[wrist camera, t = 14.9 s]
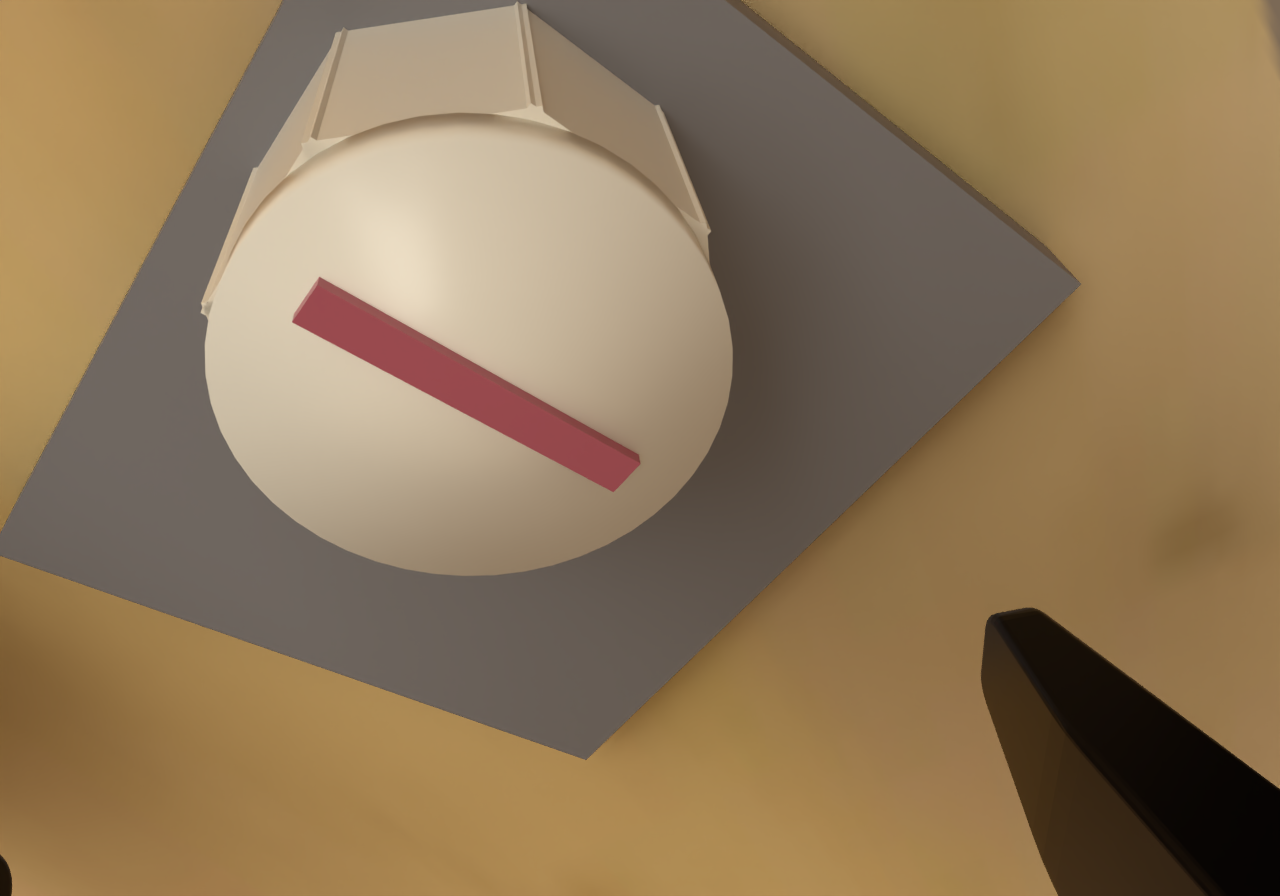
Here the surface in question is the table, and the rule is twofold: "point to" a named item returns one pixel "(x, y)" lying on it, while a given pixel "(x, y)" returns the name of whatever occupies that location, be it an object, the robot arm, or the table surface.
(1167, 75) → the table surface
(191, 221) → the board
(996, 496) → the table surface
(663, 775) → the table surface
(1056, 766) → the robot arm
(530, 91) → the knob
